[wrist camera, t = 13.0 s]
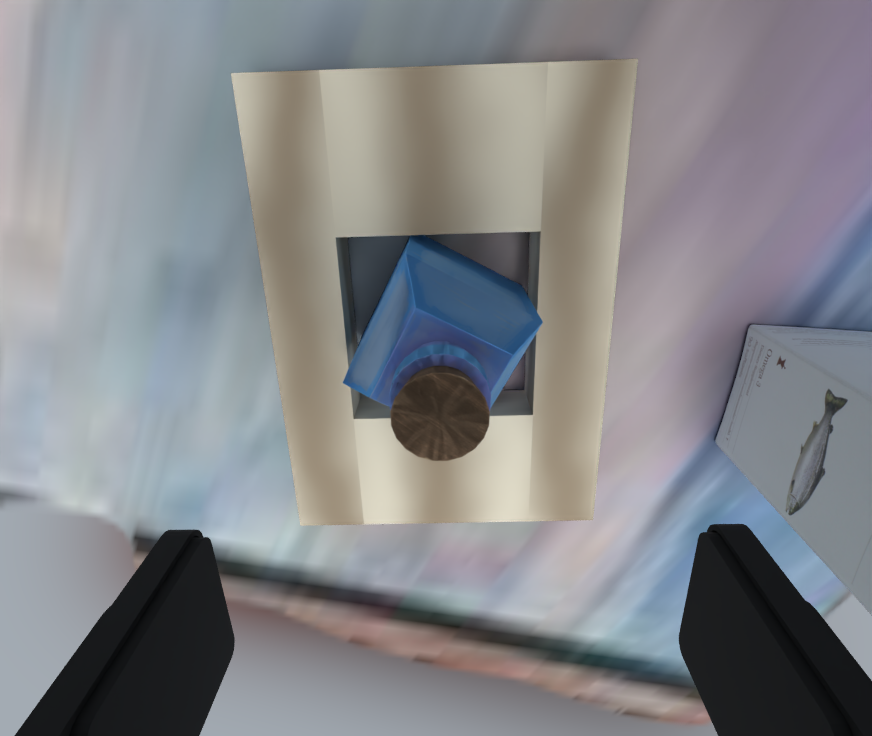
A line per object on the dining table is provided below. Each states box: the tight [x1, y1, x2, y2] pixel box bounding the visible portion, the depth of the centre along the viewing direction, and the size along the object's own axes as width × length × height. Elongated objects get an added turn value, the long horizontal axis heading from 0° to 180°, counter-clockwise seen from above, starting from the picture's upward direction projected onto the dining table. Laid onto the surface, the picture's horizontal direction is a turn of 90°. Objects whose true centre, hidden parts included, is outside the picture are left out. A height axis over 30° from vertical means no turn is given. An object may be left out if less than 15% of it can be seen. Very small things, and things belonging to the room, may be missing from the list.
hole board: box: [231, 59, 638, 526], centre depth 27 cm, size 16×22×3 cm
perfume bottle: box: [343, 235, 543, 461], centre depth 23 cm, size 6×6×12 cm
